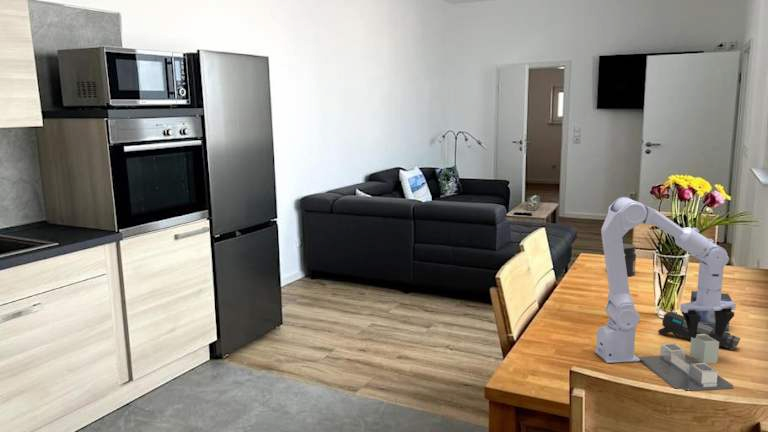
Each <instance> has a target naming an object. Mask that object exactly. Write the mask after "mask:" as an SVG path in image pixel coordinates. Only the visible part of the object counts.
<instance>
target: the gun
mask: <svg viewBox="0 0 768 432" xmlns="http://www.w3.org/2000/svg"><path fill="white" fill-rule="evenodd" d="M661 323H662V326H663V327H662V328H660V329H659V330H658V334H659V335H660V336H663V335H664V336H665V335H666V334H669V333H671V334H673V336H675V337H676V338H678V337H681V338H682V337H683V338H685V339H687V340H689V341H691V336H689V332H688V327H687V324H686V321H685V318H684V316H683V315H681V314H678V313H676V312H675V311H674V312H673V311H667V312H666V313H664V315H663V319H662V322H661ZM697 334H706V335H708V336H710V337H711V338H713V339H715V340H717V341H718V342H719V348H721V347H723V348H726V349H728V350H729V351H733V350H735V347H737V346H738V345H739V342H740V340H741V337H738V336H737V335H733V334H731V333H730V332H727V331H724V333H723V336H722V337H720V336H718V335H716V334H715V328H712V327H709V326H707V325H704V324H701V323H698V327H697Z"/></svg>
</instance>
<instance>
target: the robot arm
mask: <svg viewBox="0 0 768 432" xmlns="http://www.w3.org/2000/svg"><path fill="white" fill-rule="evenodd" d="M641 224H644V225H651V224H652V225H653V226H655V227H657V229H660V230H662V231H663V232H664V233H667V234H668V235H670V236H671V237H673V238H674V242H675V245H676V246H677V247H679V248H681V249H683V251H685V252H687V253H688V254H690V255H692V256H693V257H695V258H696V259H697V260H698V261H699V264H698V276H697V288H696V291H697V300H696V301H694V302H691V301H690V302H686V303H685V302H683V303H680V308H679V311H681V314H682V316H684V318H685V321H686V324H687V327H688V332H689V336H691V337H692V338H696V335H697V327H698V323H699V320H700V318H701V316H699V315H697V313H696V311H712V310H714V312H715V334H716V335H718V336H720V337H722V336H723V333H724V331H725V328H726V326H727V324H728V323H729V324H730V321H732V319H733V318H734V317H735V312H734V311H736V303H735V302H734V301H732V302H731V301H721V293H722V289H723V280H724V278H723V277H724V268H725V267H726V265H727V264H728V263H729V261H730V257H729V256H728V252H727V250H726V249H725V248H724V247H722V246H720V245H718V244H716V243H714V242H715V240H713V239H712V238H707V237H706V236H704V235H703V234H701V233H700V229H698V228H696V227H690V226H687V227H682V226H680V225H678V223H676V222H674V221H673V220H671V219H670V218H669V217H667V216H665V215H664V214H662V213H661V212H659V211H658V210H657V209H654V208H652V207H650V206H647V205H645V204H643V203H642V202H640V201H636V200H633V199H632V198H630V197H627V196H622V197H618V198H617V199H615V200H614V201H613V202H612V204H610V205H609V206H608V210H607V215H606V217H605V220H604V222H603V224H602V226H601V229H600V233H601V242H602V248H603V249H602V250H603V254H604V256H603V257H604V262H605V270H606V276H607V277H606V278H607V283H608V289H609V290H608V291H609V293H608V294H607V303H606V306H605V312H606V314H607V316H608V320H607V324H606V325H603V326H599V327H598V329H597V332H596V340H595V341H596V344H595V350H594V353H596V354H597V355H598V356H599V357H600V358H601V359H602V360H603V361H604V362H605V363H607V364H610V363H612V364H613V363H614V364H615V363H631V362H640V359H639V358H638V357H639V356H637V355H635V342H636V327H637V326H639V325H638V324H639V322H640V315H639V313H638V311H637V309H635V304H634V303H635V302H634V301H633V297H632V296H631V292H630V286H629V279H628V277H629V276H627V270H626V262H625V255H624V248H623V244H624V243H623V241H624V239H623V237H624V236H625V235H626V234H627V233H628V232H629V230H630V231H631V230H632V229H634V228H635V227H637V226H639V225H641ZM725 332H726V331H725Z"/></svg>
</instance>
